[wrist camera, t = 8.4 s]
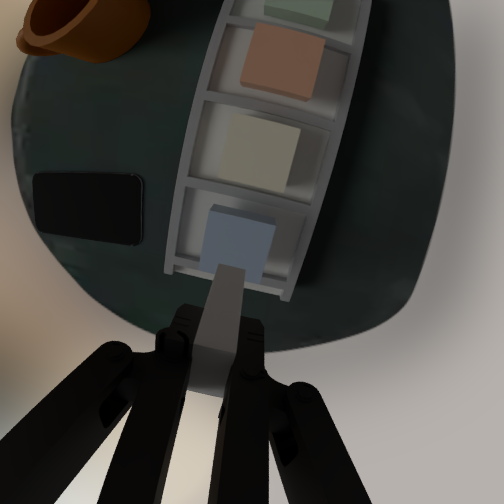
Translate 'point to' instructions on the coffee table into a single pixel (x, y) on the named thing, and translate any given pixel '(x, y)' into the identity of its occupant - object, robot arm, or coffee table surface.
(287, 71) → the key terracotta
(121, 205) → the smartphone
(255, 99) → the keypad
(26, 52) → the mug
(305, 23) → the key sage
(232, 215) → the key blue
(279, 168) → the key cream
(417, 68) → the coffee table surface
